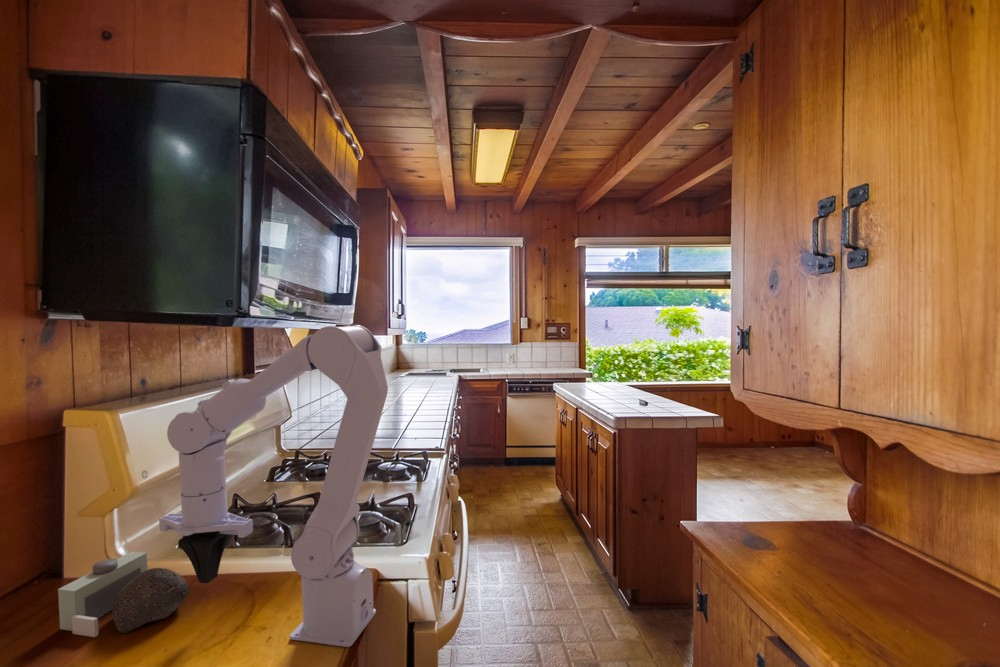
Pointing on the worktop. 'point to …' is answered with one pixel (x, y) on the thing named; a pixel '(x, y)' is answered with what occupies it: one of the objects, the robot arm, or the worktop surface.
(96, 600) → the digital alarm clock
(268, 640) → the worktop surface
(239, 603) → the worktop surface
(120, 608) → the stone
